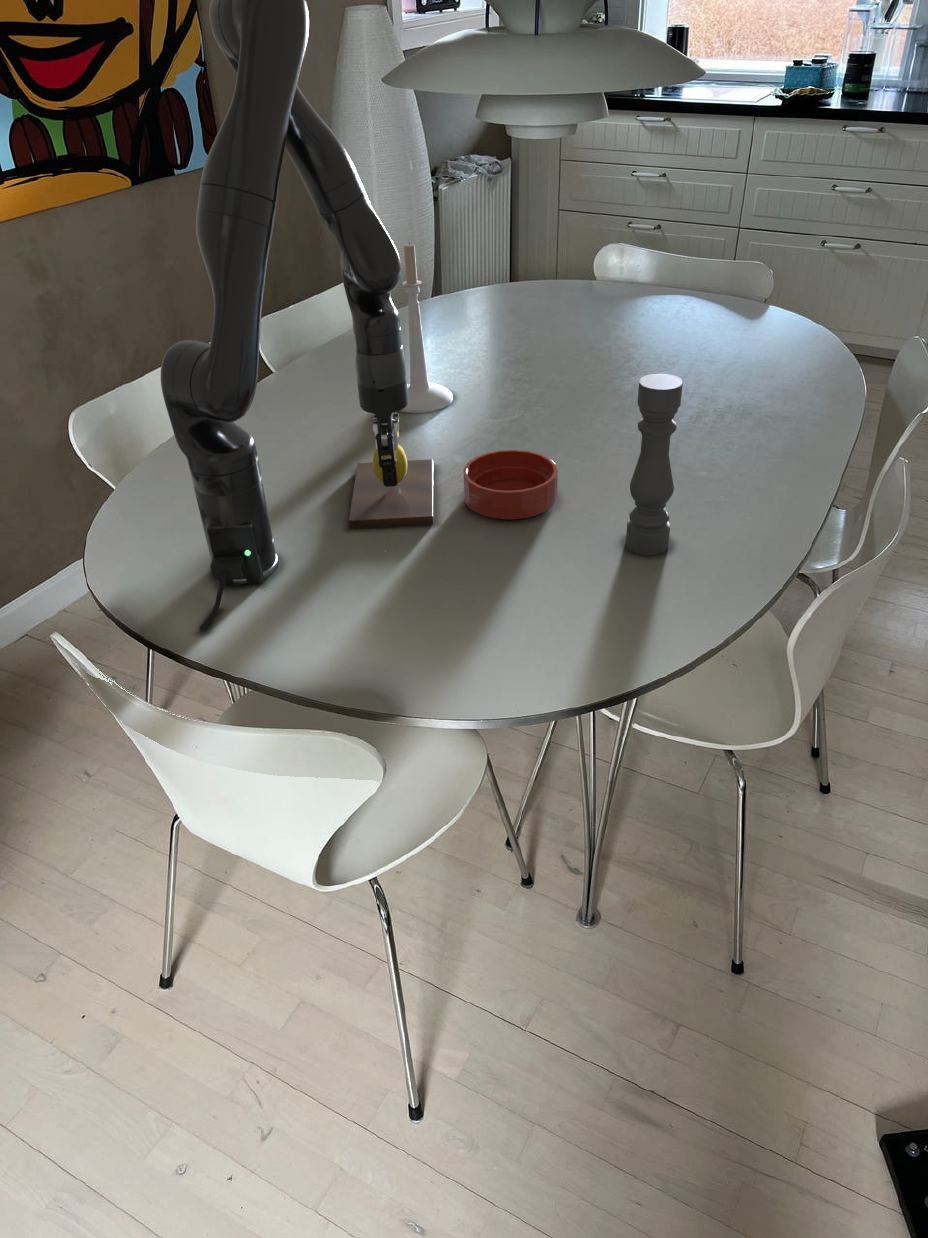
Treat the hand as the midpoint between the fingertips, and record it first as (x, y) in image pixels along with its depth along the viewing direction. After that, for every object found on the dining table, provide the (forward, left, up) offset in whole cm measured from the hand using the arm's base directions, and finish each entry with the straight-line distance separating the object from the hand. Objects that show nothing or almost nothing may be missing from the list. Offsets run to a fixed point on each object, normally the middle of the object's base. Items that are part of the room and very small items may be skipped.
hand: (391, 476), depth 150 cm
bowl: (-3, -19, -4) cm, 20 cm away
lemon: (0, 0, -2) cm, 2 cm away
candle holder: (-19, -38, -4) cm, 43 cm away
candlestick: (+40, -4, -4) cm, 40 cm away
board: (0, 0, -4) cm, 4 cm away
